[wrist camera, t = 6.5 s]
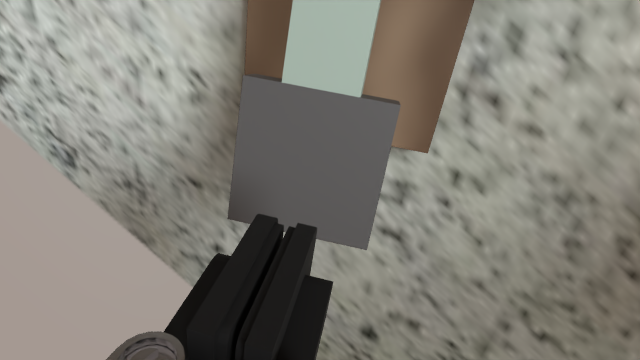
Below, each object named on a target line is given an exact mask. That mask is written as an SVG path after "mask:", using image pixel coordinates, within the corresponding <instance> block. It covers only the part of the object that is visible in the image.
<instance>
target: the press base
mask: <svg viewBox="0 0 640 360" xmlns="http://www.w3.org/2000/svg"><path fill="white" fill-rule="evenodd" d="M292 3H293V0H248V10H247V32H246V54H245V75H248V74H260V75H265V76H271V77H276V78H281V79H282V75H283V68H284V61H285V54H286V46H287V39H288V32H289V25H290V18H291V10H292ZM473 3H474V0H381V4H380V9H379V14H378V19H377V24H376V29H375V34H374V38H373V43H372V48H371V53H370V58H369V63H368V68H367V73H366V78H365V83H364V88H363V93H362V94H365V95H370V96H376V97H381V98H386V99H391V100H397V101H399V102H400V104H401V107H400V111H399V115H398V119H397V124H396V128H395V132H394V136H393V141H392V145H391V146H394V147H399V148H404V149H409V150H414V151H419V152H424V153H428V151H429V147H430V144H431V141H432V137H433V134H434V131H435V128H436V124H437V121H438V118H439V114H440V111H441V108H442V105H443V101H444V98H445V95H446V92H447V88H448V85H449V82H450V78H451V75H452V72H453V69H454V65H455V62H456V59H457V55H458V52H459V49H460V46H461V42H462V39H463V36H464V33H465V29H466V26H467V23H468V19H469V16H470V13H471V10H472V6H473Z"/></svg>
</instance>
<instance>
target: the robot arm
mask: <svg viewBox="0 0 640 360" xmlns="http://www.w3.org/2000/svg"><path fill="white" fill-rule="evenodd" d="M283 232H284V225H282V224H278V218H276V217H272V216H267V215H263V214H257V215H256V217H255V218H254V220H253V221H252V223H251V225H250V226H249V228H248V230H247V231H246V233H245V234H244V236H243V238H242V239H241V241H240V243H239V244H238V246H237V248H236V249H235V251H234V252H233V254H232V256H228V255H224V254H220V253H218V254H217V255H215V257H214V258H213V259H212V261H211V262H210V264H209V265H208V266H207V268H206V269H205V271H204V272H203V274H202V275H201V277H200V278H199V280H198V281H197V283H196V284H195V286H194V287H193V289H192V290H191V292H190V293H189V295H188V297H187V298H186V299H185V301H184V302H183V304H182V305H181V307H180V308H179V310H178V311H177V313H176V314H175V316H174V317H173V319H172V320H171V322H170V323H169V325H168V326H167V328H166V329H165V331H164V332H146V333H143V334H138V335H136V336H134V337H132V338H130V339H128V340H126V341H125V342H124V343H123V344H121V345H120V346H119V347H118V348H117V349H116V350H115V351H114V352H113V353H112V354H111V355H110V356H109V357H108V358H107V359H106V360H316V356H317V352H318V348H319V343H320V339H321V335H322V331H323V327H324V322H325V318H326V313H327V309H328V304H329V300H330V295H331V290H332V285H333V282H332V281H328V280H324V279H320V278H316V277H312V276H310V271H311V265H312V259H313V253H314V247H315V241H316V235H317V227H314V226H310V225H306V224H301V223H297V225H296V228H295V227H291V226H289V227H288V229H287V231H286V234H285V236H284V238H283Z"/></svg>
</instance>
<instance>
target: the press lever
mask: <svg viewBox="0 0 640 360" xmlns="http://www.w3.org/2000/svg"><path fill="white" fill-rule="evenodd" d="M380 4H381V0H293V3H292V10H291V18H290V25H289V32H288V39H287V46H286V54H285V61H284V68H283V75H282V79H281V78H276V77H271V76H265V75H260V74H248V75H243V81H242V90H241V99H240V109H239V118H238V127H237V137H236V146H235V155H234V164H233V174H232V183H231V192H230V201H229V211H228V219H230V220H235V221H239V222H244V223H248V224H251V223H252V221H253V220H254V218H255V217H256V215H257V214H263V215H267V216H272V217H276V218H278V224H282V225H284V232H286V231H287V229H288V227H289V226H291V227H295V228H296V225H297V223H301V224H306V225H310V226H314V227H317V235H316V239H320V240H324V241H328V242H333V243H337V244H342V245H346V246H351V247H355V248H360V249H364V250H367V247H368V243H369V238H370V234H371V230H372V226H373V221H374V217H375V213H376V209H377V204H378V200H379V196H380V192H381V187H382V183H383V179H384V175H385V170H386V166H387V162H388V158H389V153H390V149H391V145H392V141H393V136H394V132H395V128H396V124H397V119H398V115H399V111H400V107H401V104H400V102H399V101H397V100H391V99H386V98H381V97H376V96H370V95H365V94H362V93H363V88H364V83H365V78H366V73H367V68H368V63H369V58H370V53H371V48H372V43H373V38H374V34H375V29H376V24H377V19H378V14H379V9H380Z"/></svg>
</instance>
